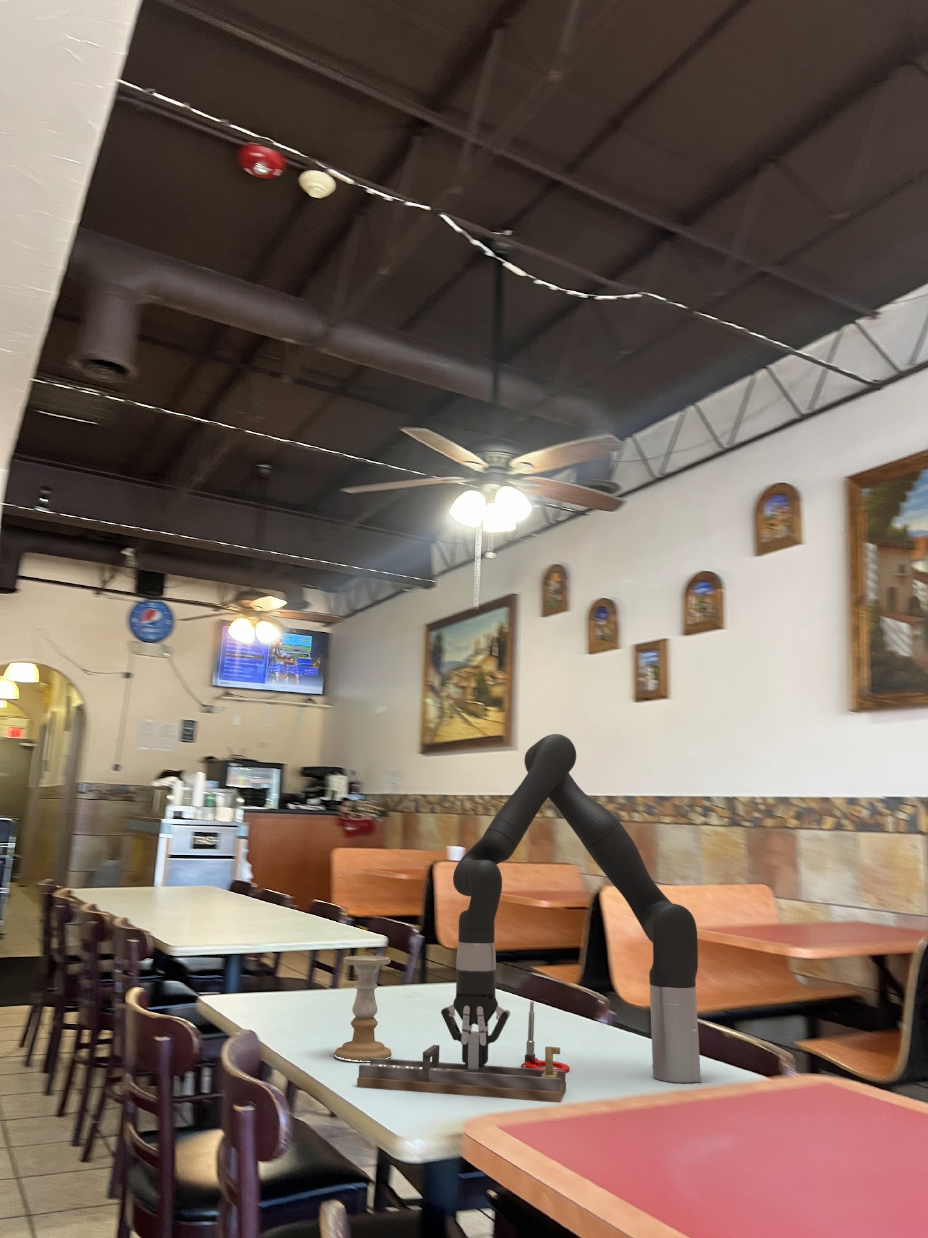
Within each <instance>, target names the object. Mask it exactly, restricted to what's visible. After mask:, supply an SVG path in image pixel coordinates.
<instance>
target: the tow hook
mask: <svg viewBox="0 0 928 1238" xmlns="http://www.w3.org/2000/svg"><path fill="white" fill-rule="evenodd" d="M534 1003H535V1001H533V1000H531V1001H530V1004H529V1012H528V1023H527V1024H528V1027H527V1040H526V1044H525V1047H526V1050H525V1051H526V1052H525V1054H524V1062H523V1063H521V1065H520V1068H533V1069H545V1060H541V1059H538V1058H537V1057H536V1054H535V1041H534V1032H535V1031H534V1030H535V1012H534V1008H535V1006H534V1005H535V1004H534ZM570 1068H571V1067H570V1066H569V1065H568V1064H566V1063H564V1062H563V1063H562V1062H560V1061H554V1060H553V1070H562V1071H565V1074H568V1073H570Z"/></svg>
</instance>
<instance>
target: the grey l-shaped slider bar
mask: <svg viewBox="0 0 928 1238" xmlns="http://www.w3.org/2000/svg"><path fill="white" fill-rule="evenodd" d="M479 1046H480V1036H479V1031H476V1030H475V1031H473V1030H471V1032H470V1033H469V1034H468V1070H458V1069H456V1070H454V1069H440V1068H430V1069H433V1070H448V1071H462V1072H477V1073H482V1067H479ZM373 1065H376V1066H390V1067H405V1068H419V1069H422V1067H413V1066H399V1065H385V1064H373Z"/></svg>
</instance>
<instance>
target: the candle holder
mask: <svg viewBox="0 0 928 1238" xmlns="http://www.w3.org/2000/svg"><path fill="white" fill-rule="evenodd" d="M343 963H344V964H346V965H349V966H353V967H354V970H355V972H356V973H357V976H358V980H357V982H356V983H354V988H355V990H356V996H355V999H354V1003H353V1006H352V1014H353V1015H354V1016H355V1017H354V1018H352V1020H351V1021H350V1025H351V1026H352V1028H353V1033H352V1034H353V1035H352V1039H351V1040H349V1041H346V1042H344V1043H342V1046H339V1047H337V1048H336V1049H335V1050H334V1053H335V1055H336V1056H337V1057H341V1058H344V1059H351V1060H358V1061H360V1060H361V1061H370V1059H371V1058H384V1059H386V1058H388V1057H390V1056H391V1057H392V1050H391V1048H389V1047H387V1046H385V1043H383V1042H381V1041H376V1039H375V1038H376V1037H375V1028H377V1026H378V1025H379V1023H378V1020H377V1019H376V1018H375V1016H376V1015H377V1014H378V1005H377V1001H376V994H375V989H377V988H378V983H376V982H375V974H376V973H377V972H378V971H379V969H380V967H381V966H384V965H385V966H386V965H389V964H391V958H390V957H388V956H382V955H380V956H379V955H351V956H345V957H343ZM391 1057H390V1058H391Z"/></svg>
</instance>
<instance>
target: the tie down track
mask: <svg viewBox="0 0 928 1238" xmlns="http://www.w3.org/2000/svg"><path fill="white" fill-rule="evenodd" d="M544 1052H545V1053H544V1055H545V1056H544V1057H545V1060H544V1061H545V1066H544V1068H545V1069H533V1068H521V1067H517V1066H501V1065H488V1064H485V1066H484V1067H482V1073H477V1072H462V1071H448V1070H433V1069H430V1068H440V1069H454V1070H456V1069H458V1070H468V1066H465V1063H457V1062H441V1061H440V1044H433V1045H431V1046H430V1047H428V1048H427V1049H426V1050H424V1051H423V1052H422V1060H413V1059H412V1060H411V1059H410V1060H409V1059H408V1060H407V1059H396V1058H389V1059H384V1058H371V1059H370V1062H369V1064H359V1065H358V1077H356V1087H357V1088H365V1089H366V1088H367V1089H379V1090H380V1089H381V1090H391V1091H392V1090H394V1091H406V1092H418V1093H420V1092H421V1093H422V1092H423V1093H433V1094H434V1093H435V1094H447V1095H460V1096H462V1095H463V1096H474V1097H484V1098H486V1097H487V1098H499V1099H513V1100H525V1101H539V1102H550V1103H551V1102H552V1103H554V1102H555V1103H561V1101H562V1099H563V1097H564V1095H565V1093H566V1092H567V1081H566V1076H567V1075H566V1073H565V1071H562V1070H553V1069H554V1067H553V1061H554V1055H560V1054H561V1047H558V1046H557V1047H556V1046H545V1047H544ZM373 1064H385V1065H399V1066H413V1067H422V1069H419V1068H405V1067H390V1066H376V1065H373Z"/></svg>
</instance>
